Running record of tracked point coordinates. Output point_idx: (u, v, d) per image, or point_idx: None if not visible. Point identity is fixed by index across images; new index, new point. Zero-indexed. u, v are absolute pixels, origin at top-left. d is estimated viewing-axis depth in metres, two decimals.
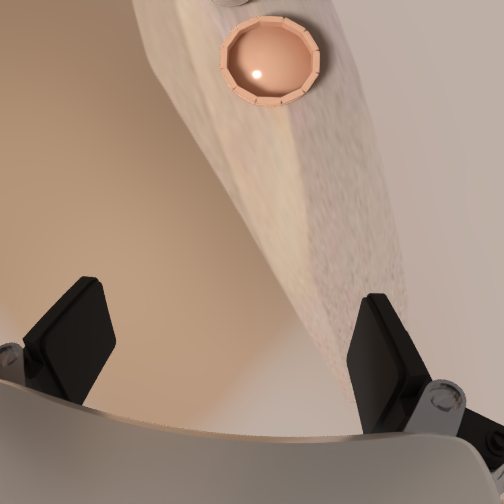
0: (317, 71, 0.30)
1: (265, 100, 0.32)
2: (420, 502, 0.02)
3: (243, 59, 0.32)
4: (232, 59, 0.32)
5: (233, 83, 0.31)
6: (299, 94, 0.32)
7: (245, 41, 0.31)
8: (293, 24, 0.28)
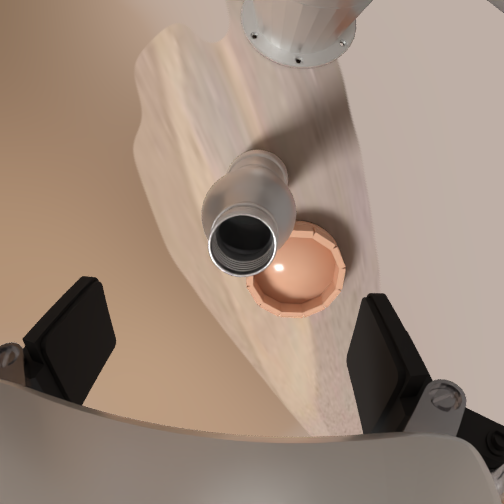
0: (340, 288, 0.36)
1: (289, 314, 0.38)
2: (420, 502, 0.02)
3: (269, 267, 0.37)
4: None
5: (259, 300, 0.37)
6: (320, 309, 0.37)
7: None
8: (323, 241, 0.33)
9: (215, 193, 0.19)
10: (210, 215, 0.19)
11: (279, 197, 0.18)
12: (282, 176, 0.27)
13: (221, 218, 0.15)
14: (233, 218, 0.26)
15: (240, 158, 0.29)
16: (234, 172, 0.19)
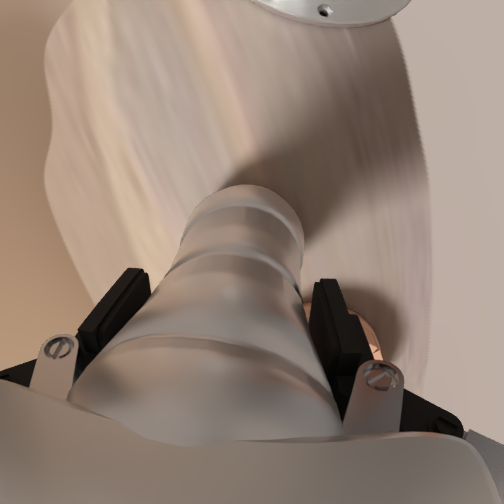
0: None
1: None
2: (420, 502, 0.02)
3: None
4: None
5: None
6: None
7: None
8: None
9: None
10: None
11: None
12: (296, 257, 0.12)
13: None
14: None
15: (205, 208, 0.14)
16: (115, 384, 0.04)
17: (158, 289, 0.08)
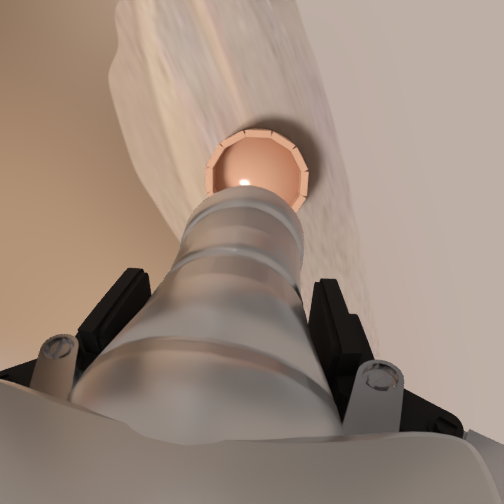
0: (305, 194, 0.34)
1: None
2: (420, 502, 0.02)
3: (230, 176, 0.36)
4: (218, 175, 0.36)
5: None
6: None
7: (231, 155, 0.35)
8: (282, 140, 0.32)
9: None
10: None
11: None
12: (296, 258, 0.12)
13: None
14: None
15: (205, 209, 0.14)
16: (115, 387, 0.04)
17: (158, 291, 0.08)
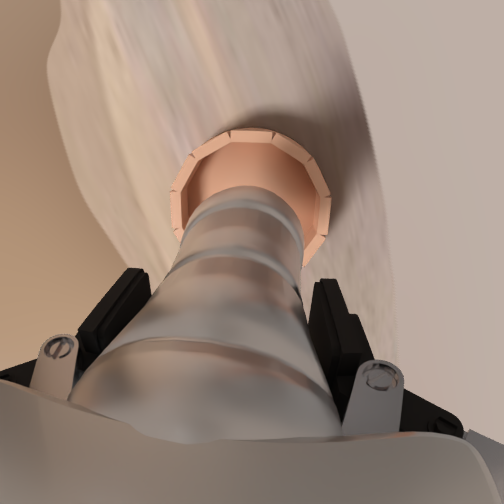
0: (324, 233, 0.22)
1: None
2: (420, 502, 0.02)
3: None
4: (192, 200, 0.24)
5: None
6: None
7: (211, 169, 0.23)
8: (291, 147, 0.20)
9: None
10: None
11: None
12: (296, 258, 0.12)
13: None
14: None
15: (205, 209, 0.14)
16: (115, 387, 0.04)
17: (158, 291, 0.08)
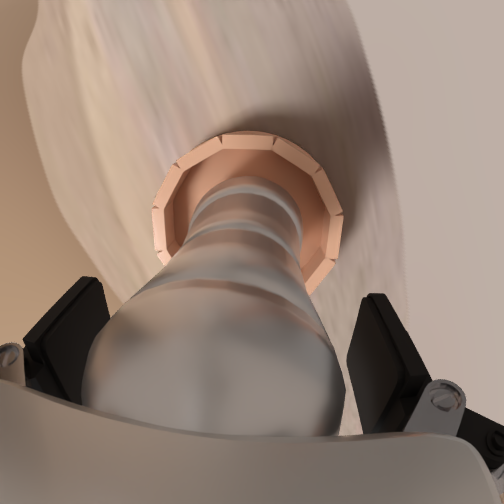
0: (334, 257, 0.19)
1: None
2: (420, 502, 0.02)
3: None
4: (179, 217, 0.20)
5: None
6: None
7: (200, 181, 0.19)
8: (295, 155, 0.16)
9: (91, 386, 0.05)
10: None
11: (306, 427, 0.04)
12: (296, 239, 0.14)
13: None
14: None
15: (213, 195, 0.15)
16: (147, 314, 0.05)
17: (175, 257, 0.09)
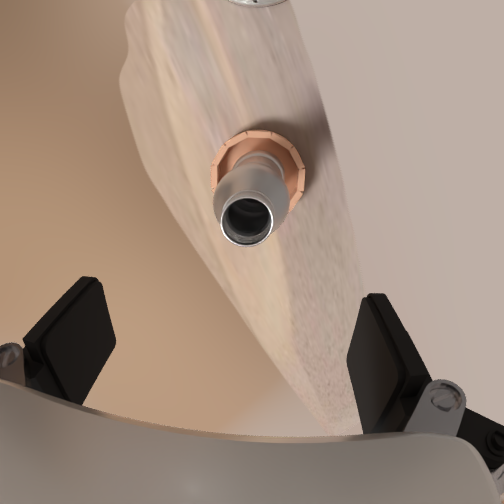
0: (302, 190, 0.37)
1: None
2: (420, 502, 0.02)
3: None
4: (222, 172, 0.39)
5: None
6: None
7: (234, 154, 0.38)
8: (281, 140, 0.35)
9: (225, 183, 0.23)
10: (221, 200, 0.23)
11: (276, 187, 0.23)
12: (280, 173, 0.32)
13: (231, 200, 0.20)
14: (237, 207, 0.31)
15: (244, 157, 0.34)
16: (240, 167, 0.24)
17: None
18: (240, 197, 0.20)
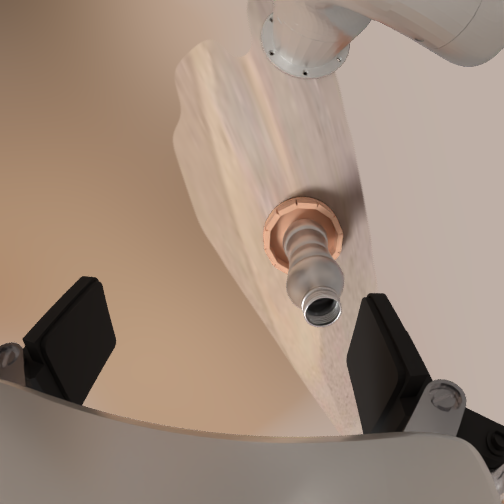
0: (339, 251, 0.45)
1: None
2: (420, 502, 0.02)
3: (282, 234, 0.46)
4: (272, 233, 0.46)
5: (274, 261, 0.46)
6: None
7: (283, 218, 0.45)
8: (325, 211, 0.42)
9: (300, 274, 0.31)
10: (297, 288, 0.31)
11: (338, 278, 0.31)
12: (327, 245, 0.40)
13: (313, 298, 0.28)
14: None
15: (296, 228, 0.41)
16: (311, 260, 0.31)
17: (299, 250, 0.36)
18: (320, 297, 0.27)
